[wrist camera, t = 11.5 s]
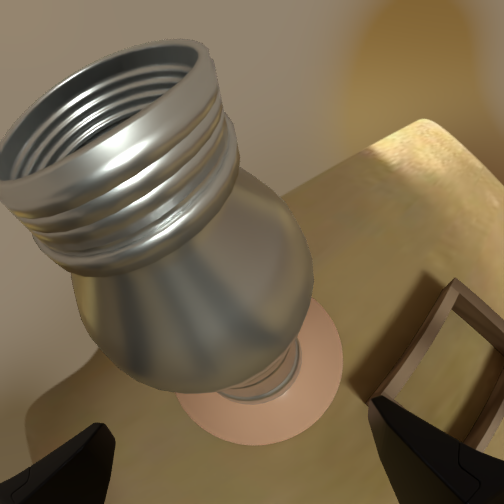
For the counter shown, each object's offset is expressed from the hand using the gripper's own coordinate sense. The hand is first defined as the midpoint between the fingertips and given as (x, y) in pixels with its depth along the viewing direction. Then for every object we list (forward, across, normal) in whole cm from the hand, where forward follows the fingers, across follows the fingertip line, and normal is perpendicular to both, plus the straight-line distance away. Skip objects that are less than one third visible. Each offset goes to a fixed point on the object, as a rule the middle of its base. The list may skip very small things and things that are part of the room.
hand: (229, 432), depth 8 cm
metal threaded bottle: (+12, 0, +5) cm, 13 cm away
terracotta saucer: (+12, 0, +6) cm, 13 cm away
